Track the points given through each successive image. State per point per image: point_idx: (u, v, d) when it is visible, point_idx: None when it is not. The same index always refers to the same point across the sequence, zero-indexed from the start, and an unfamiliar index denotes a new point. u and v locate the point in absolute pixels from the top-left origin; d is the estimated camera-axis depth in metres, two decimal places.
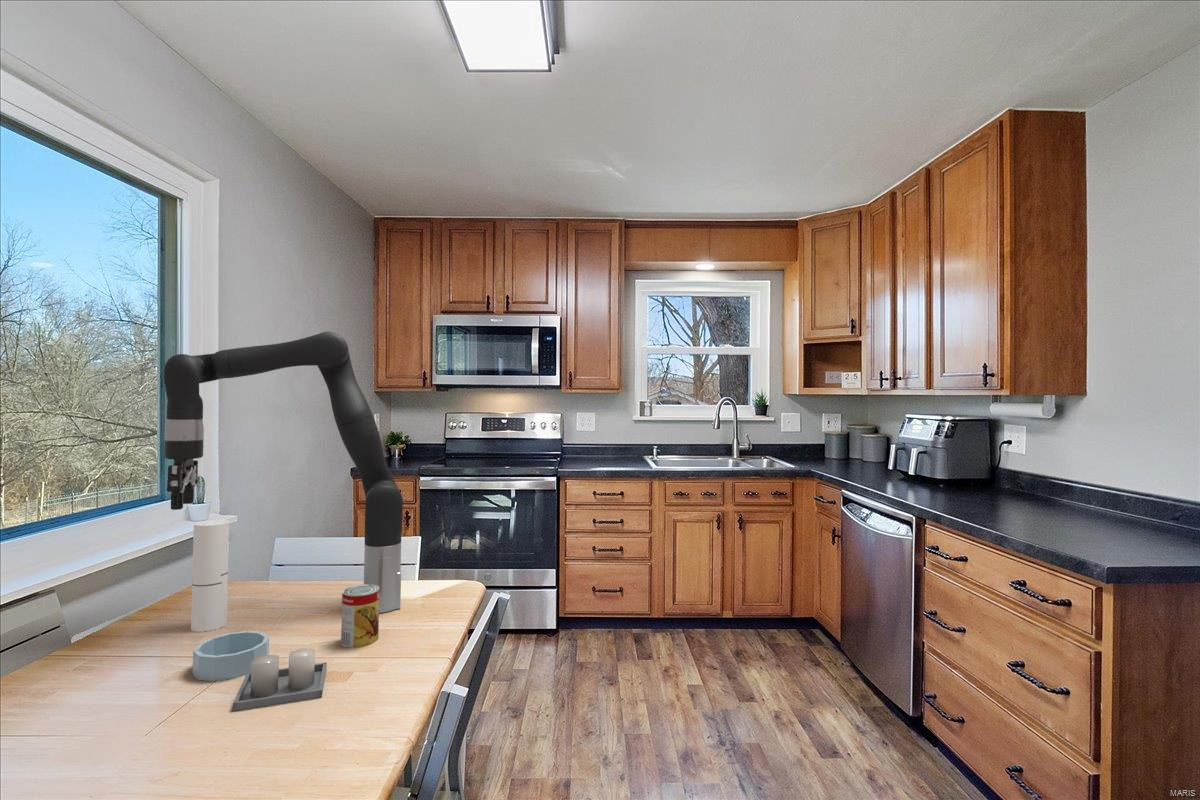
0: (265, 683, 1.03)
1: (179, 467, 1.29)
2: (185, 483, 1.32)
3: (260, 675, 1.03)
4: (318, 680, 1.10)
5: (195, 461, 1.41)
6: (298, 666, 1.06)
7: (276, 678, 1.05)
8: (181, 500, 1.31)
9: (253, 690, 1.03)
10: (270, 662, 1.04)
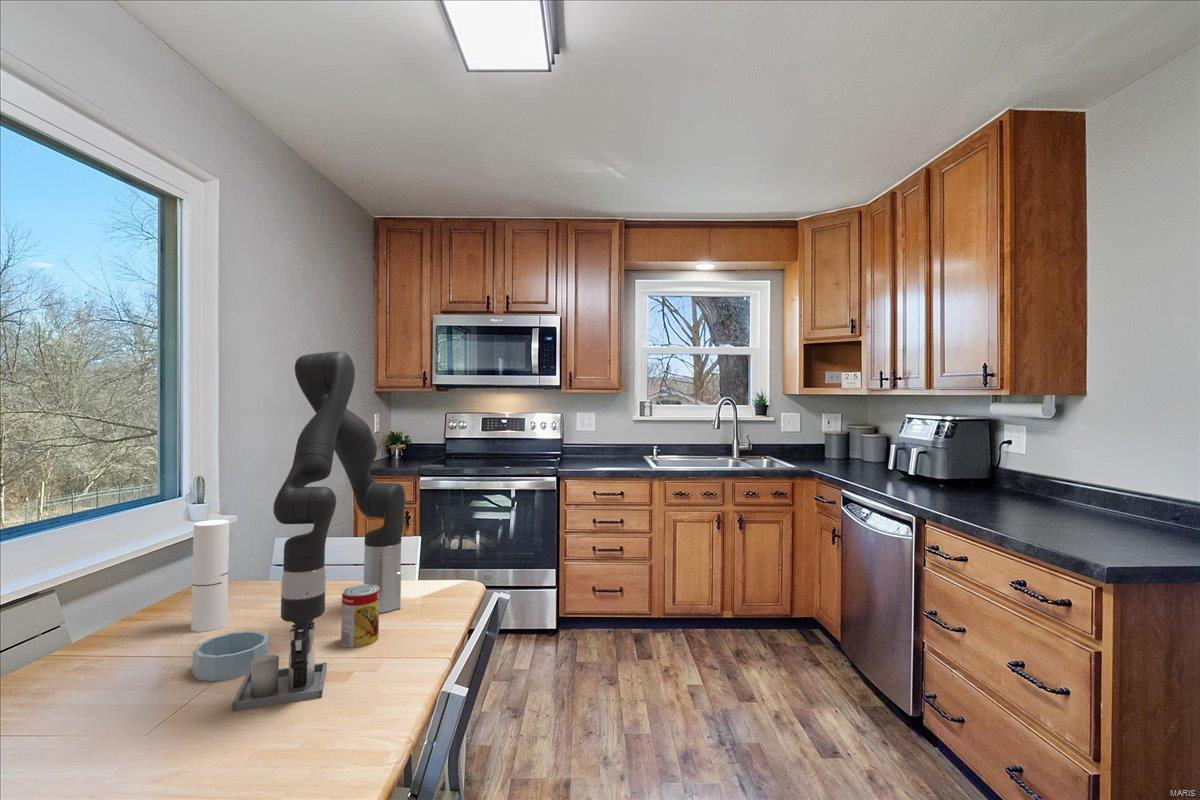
0: (265, 683, 1.03)
1: (304, 643, 1.03)
2: (309, 652, 1.07)
3: (259, 675, 1.03)
4: (318, 680, 1.10)
5: None
6: None
7: (276, 678, 1.05)
8: (305, 675, 1.06)
9: (253, 690, 1.03)
10: (270, 662, 1.04)
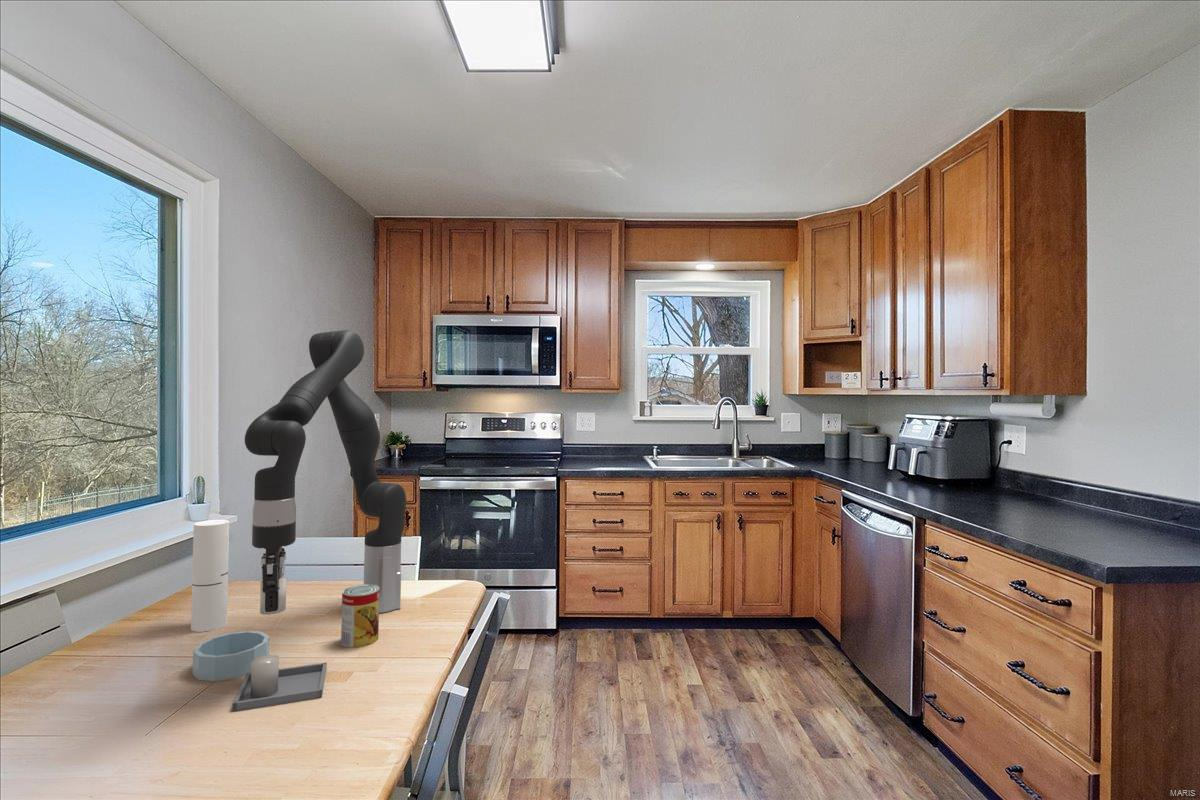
0: (265, 683, 1.03)
1: (275, 567, 1.07)
2: (280, 578, 1.11)
3: (260, 675, 1.03)
4: (318, 680, 1.10)
5: (282, 548, 1.18)
6: None
7: (276, 678, 1.05)
8: (277, 600, 1.10)
9: (253, 690, 1.03)
10: (270, 662, 1.04)
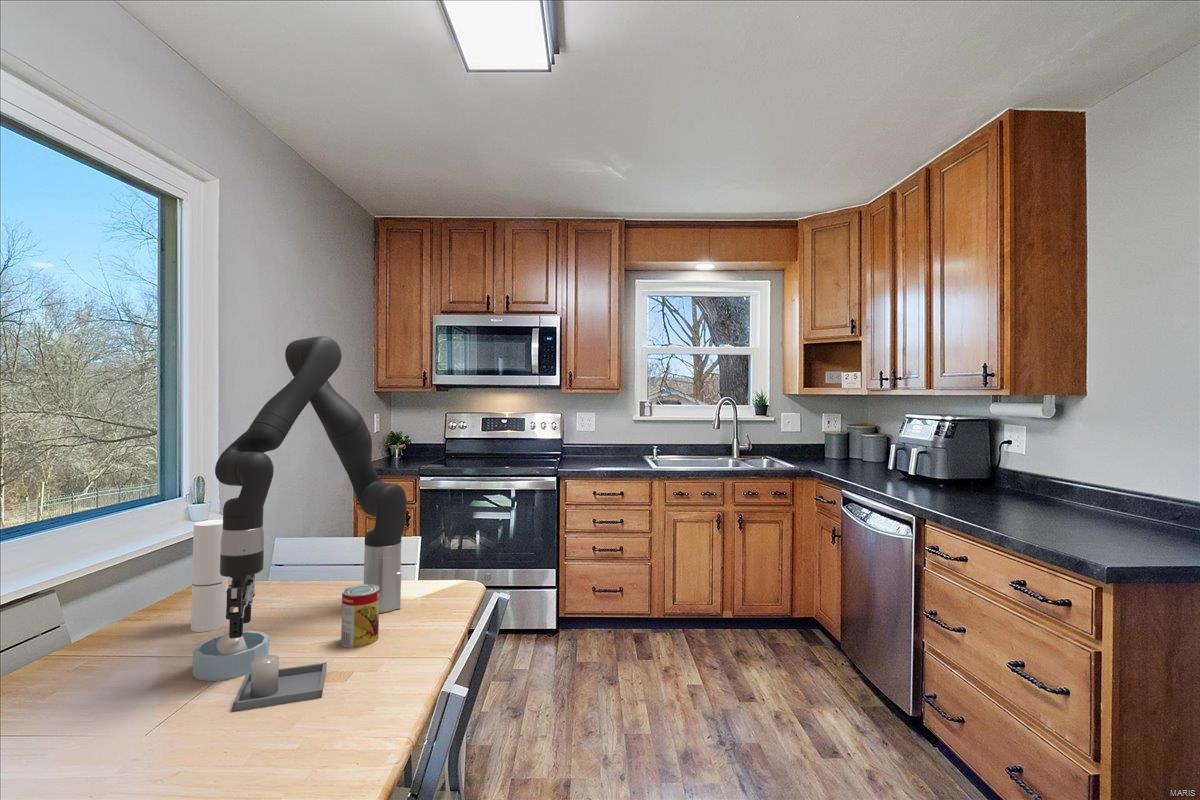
0: (265, 683, 1.03)
1: (239, 590, 1.10)
2: (245, 605, 1.13)
3: (260, 675, 1.03)
4: (318, 680, 1.10)
5: None
6: None
7: (276, 678, 1.05)
8: (241, 626, 1.12)
9: (253, 690, 1.03)
10: (270, 662, 1.04)
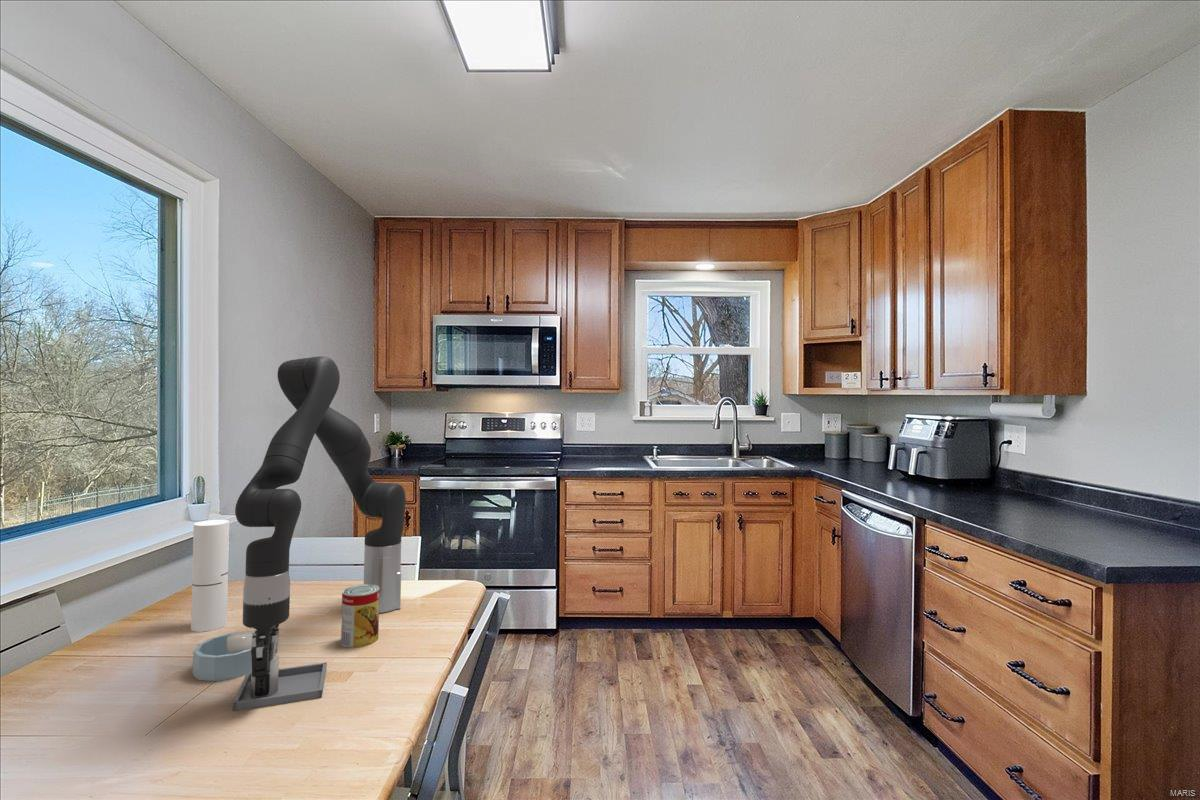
0: None
1: (265, 650, 1.00)
2: (271, 659, 1.03)
3: None
4: (318, 680, 1.10)
5: None
6: (235, 647, 1.13)
7: (276, 678, 1.05)
8: (268, 683, 1.03)
9: (253, 690, 1.03)
10: None
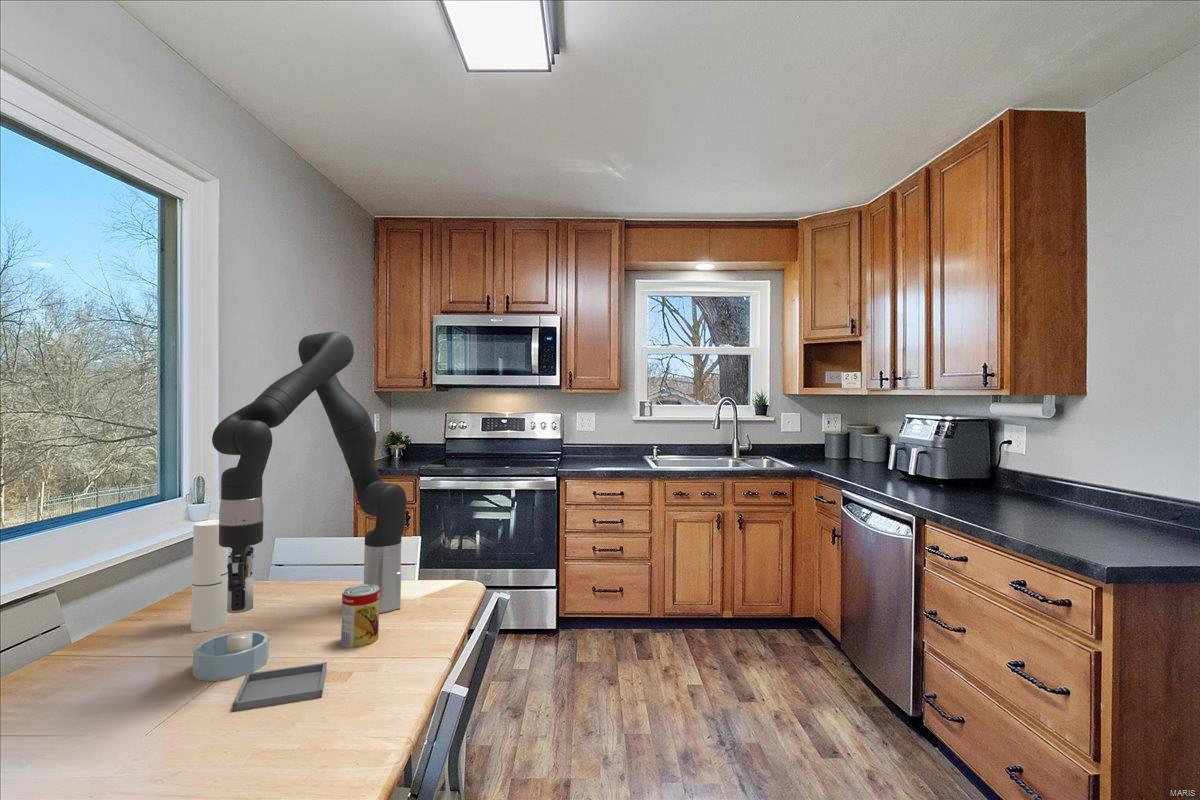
0: None
1: (240, 566, 1.07)
2: (246, 577, 1.11)
3: None
4: (318, 680, 1.10)
5: (251, 547, 1.19)
6: (235, 647, 1.13)
7: (251, 596, 1.13)
8: (243, 599, 1.11)
9: (229, 606, 1.11)
10: None
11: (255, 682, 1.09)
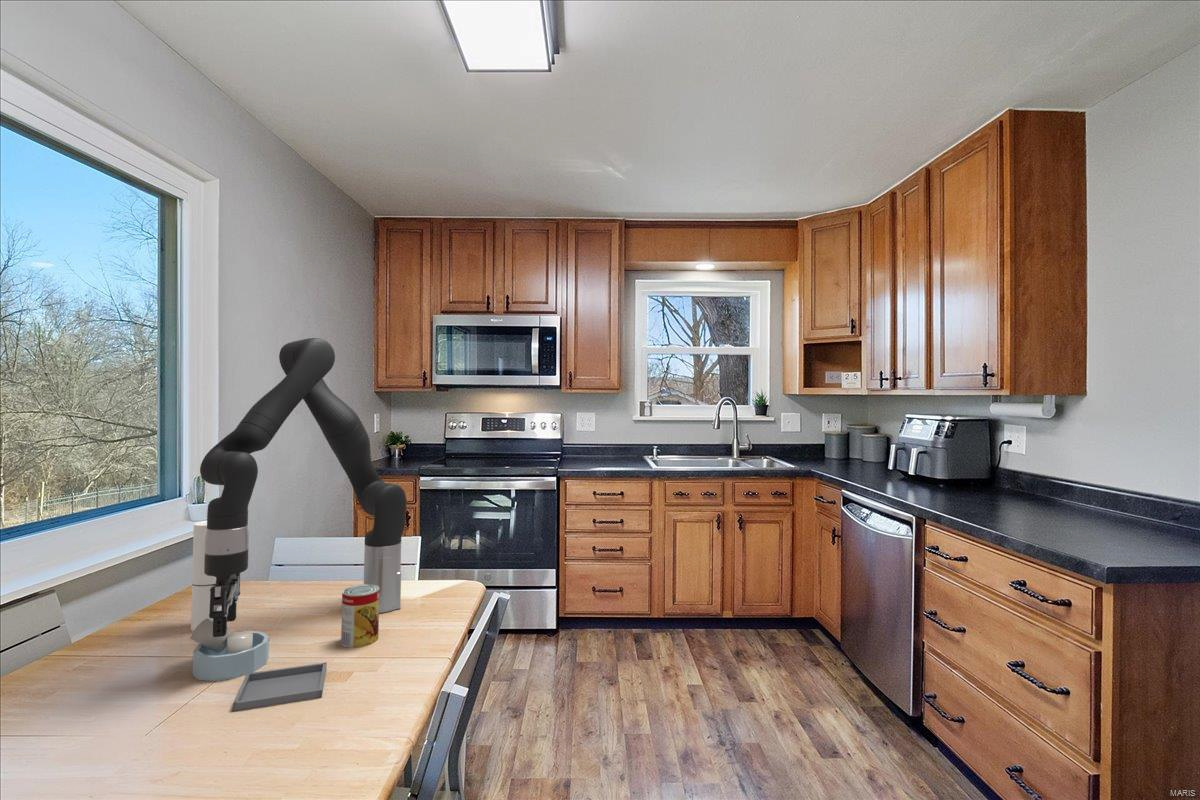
0: (212, 635, 1.14)
1: (223, 588, 1.10)
2: (229, 604, 1.13)
3: (201, 636, 1.13)
4: (318, 680, 1.10)
5: None
6: (235, 647, 1.13)
7: None
8: (225, 625, 1.12)
9: (211, 647, 1.13)
10: None
11: (255, 682, 1.09)
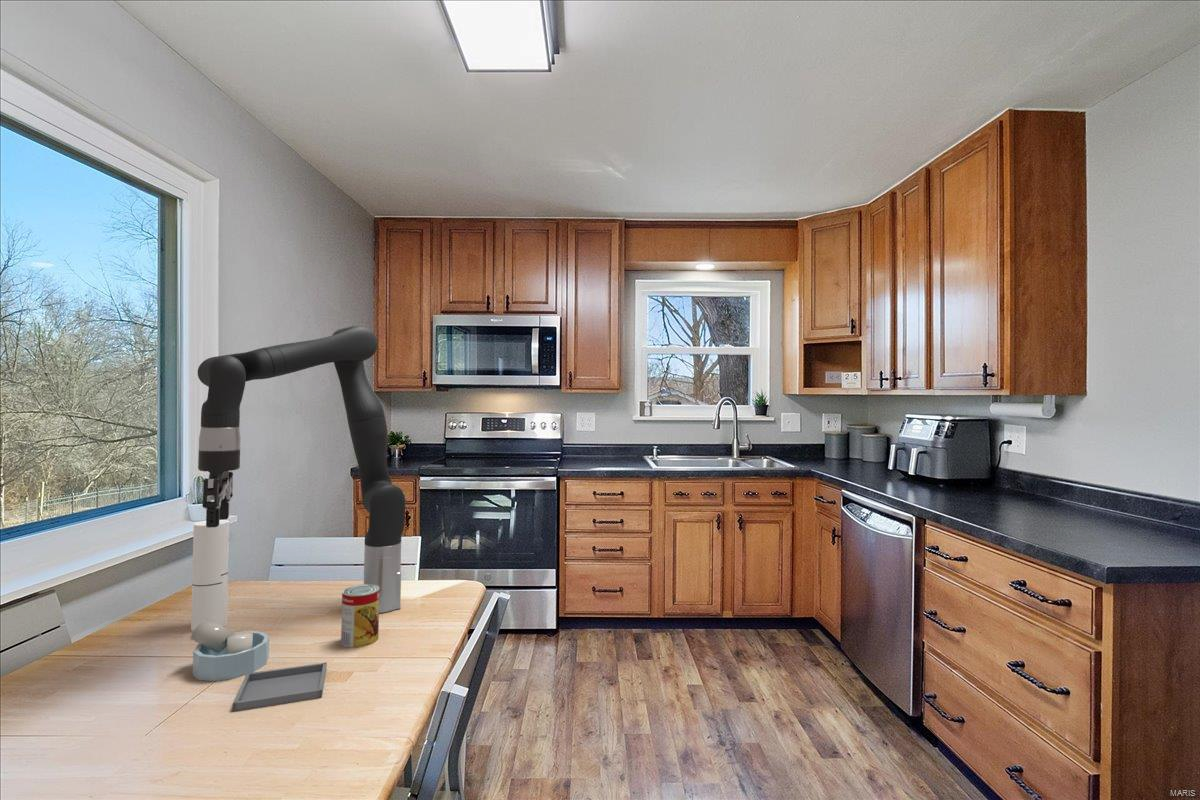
0: (212, 635, 1.14)
1: (216, 480, 1.17)
2: (221, 498, 1.20)
3: (201, 636, 1.13)
4: (318, 680, 1.10)
5: (230, 473, 1.28)
6: (235, 647, 1.13)
7: (219, 627, 1.15)
8: (217, 517, 1.19)
9: (211, 647, 1.13)
10: None
11: (255, 682, 1.09)
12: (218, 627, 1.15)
